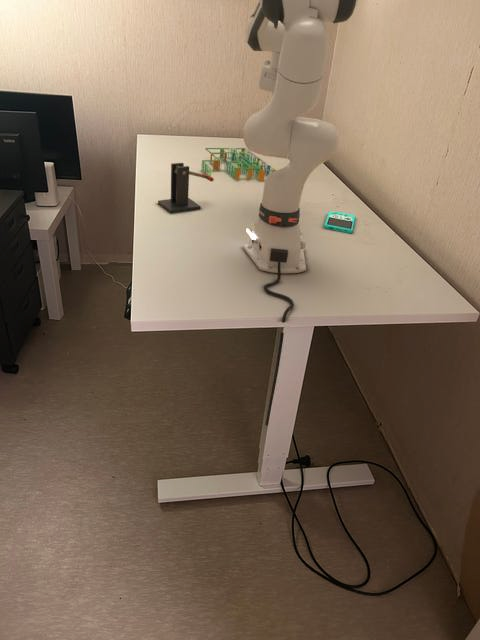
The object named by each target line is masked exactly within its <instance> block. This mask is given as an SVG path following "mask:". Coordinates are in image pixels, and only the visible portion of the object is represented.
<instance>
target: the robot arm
mask: <svg viewBox="0 0 480 640" xmlns="http://www.w3.org/2000/svg"><path fill="white" fill-rule="evenodd" d="M358 1H359V0H258V2H257V5H256V7H255V9H254V11H253V13H252V14H251V15H250V16H249V17H250V18H249V20H248V22H247V24H246V29H245V30H246V31H245V37H246V43H247V45H248V46H249V47H250V49H251V50H252V51H253V52H270V53H271V54H270V59H266V60H265V62H263V66H262V68H261V71H260V75H259V80H258V87H259V89H260V90H262V91H266V92H270V93H271V96H272V97H271V99H270V100H269V102H268V103H267V104H266V105H265V106H264V107H263V108H262V109H261V110H259V111H257V112H256V113H253V114H252V115H250V116H249V118H248V119H247V120H246V122H245V124H244V127H243V132H242V138H243V143H244V146H245V148H246V149H247V150H248V152H249V151H250V152H252V153H253V154H257V155H260V156H263V157H268V158H276V159H286V160H289V163H288V164H287V165H286V166H284V167H282V168H279V169H275V170H276V171H274V172H272V171H271V172H272V173H269V175H266V177H265V178H264V184H263V191H262V199H261V203H260V204H259V208H258V218H257V219H256V220H255V221H254V222H252V226H251V230H250V229H249V228H246V233H247V235H249V243H246V244H244V246H243V250H244V252H245V253H246V254H247V255H248V256H249V258H250V259H251V260H252V261H253V263H254V264H255V265H256V267H257V269H259V270H260V271H263V272H267V273H271V274H273V273H274V274H277V278H276V280H275V281H273V282H271V283H266V284H264V286H263V289H264V291H265V292H266V293H267V294H268V295H269V294H270V295H272V296H276V297H278V298H282V299H284V300H286V301H288V302H289V304H290V305H289V306H288V307H287V308H286V309H285V310H284V312H283V315H282V317H281V323H286V318H287V315H288V313H289V312H290V310H292V309H293V308H294V306H295V304H294V301H293V299H291V298H290V297H289V296H287V295H285V294H282V293H278V292H275V291H272V290H270V289H269V288H270V287H272V286H276V285H277V284H278V283H279V282H280V281H281V274H298V273H299V274H300V273H304V272H306V270H307V264H306V258H305V251H304V250H305V249H306V247H307V243H306V242H307V241H305V240H301V238H303V236H304V232H301V224H300V218H301V209H300V202H301V199H302V195H303V191H304V188H305V184H306V182H307V180H308V179H309V177H310V175H311V174H312V173H313V172H314V171H315V170H316V168H318V167H319V166H321V165H322V164H324V163H325V162H328V161H329V160H330V159H332V157H333V156H334V155H335V153H336V152H337V149H338V145H339V140H340V139H339V132H338V129H337V128H336V127H335V125H334V124H333V123H330V122H328V121H325V120H321V119H318V118H312V117H304V116H305V115H306V114H308V113H309V112H311V111H312V110H313V109H314V108H316V105H317V104H318V102H319V101H320V97H321V93H322V88H323V83H324V77H325V72H326V67H327V61H328V60H327V59H328V51H329V32H328V31H329V30H328V27H327V25H326V24H325V23H332V24H339V23H340V24H341V23H344V22H347V21H348V20H349V19H350V18H351V17H352V16H353V14H354V11H355V9H356V6H357V5H358V4H357V3H358ZM284 335H285V332H280V335H279V345H278V351H277V357H276V362H275V370H274V376H273V379H272V380H273V381H272V387H271V391H270V392H271V393H270V397H269V402H268V407H267V414H266V419H265V424H264V425H265V426H266V427H267V426H269V423H270V416H271V411H272V405H273V401H274V396H275V392H276V391H275V390H276V385H277V380H278V375H279V368H280V363H281V356H282V349H283V343H284Z"/></svg>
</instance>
